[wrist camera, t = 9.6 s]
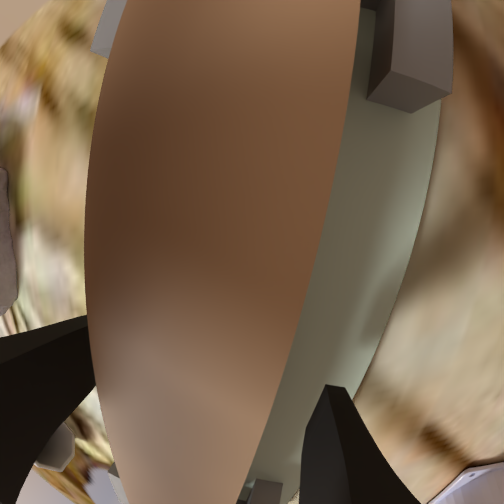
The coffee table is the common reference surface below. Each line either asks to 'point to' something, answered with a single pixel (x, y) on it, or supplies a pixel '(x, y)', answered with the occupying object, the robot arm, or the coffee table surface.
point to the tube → (57, 450)
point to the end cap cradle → (353, 221)
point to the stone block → (6, 251)
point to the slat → (207, 226)
